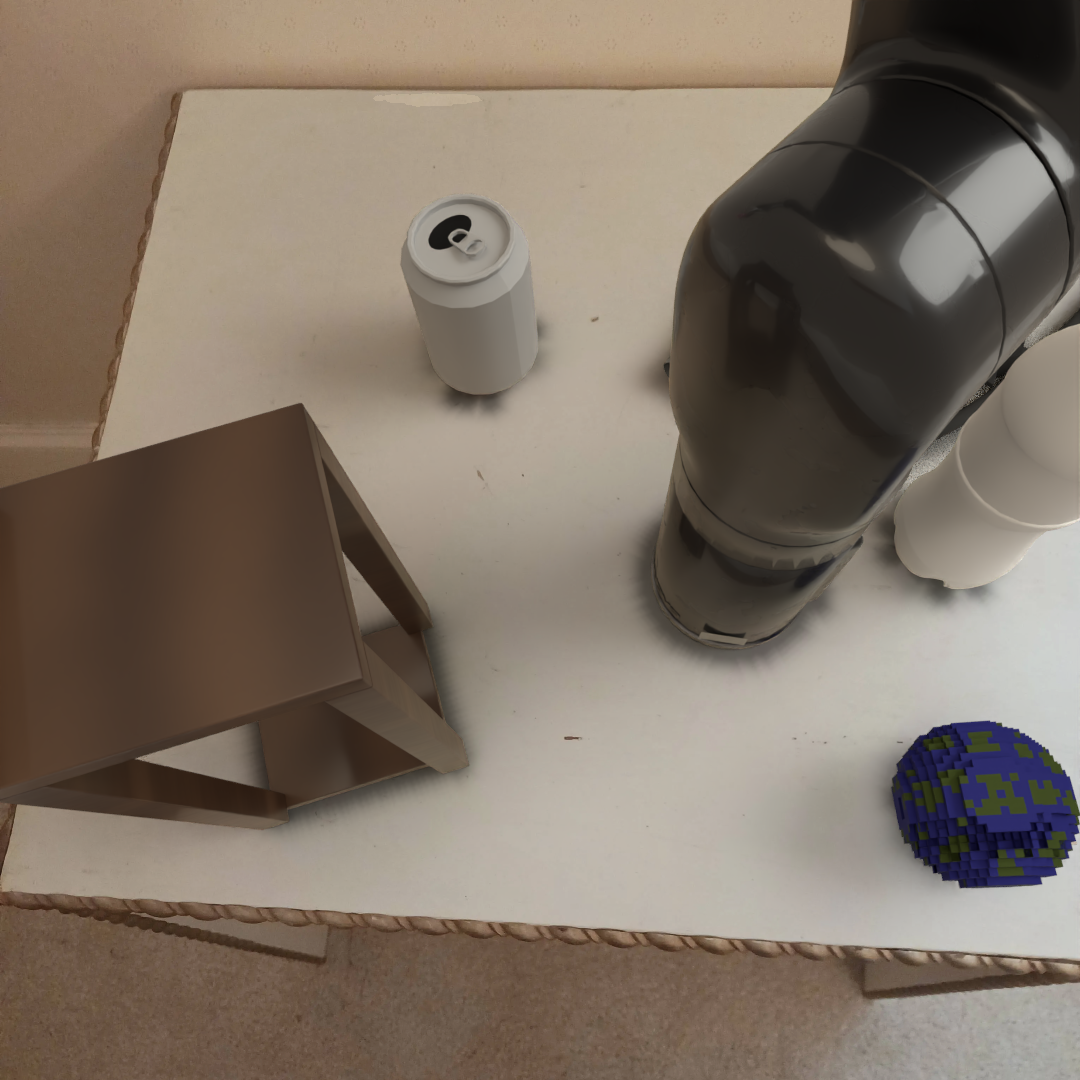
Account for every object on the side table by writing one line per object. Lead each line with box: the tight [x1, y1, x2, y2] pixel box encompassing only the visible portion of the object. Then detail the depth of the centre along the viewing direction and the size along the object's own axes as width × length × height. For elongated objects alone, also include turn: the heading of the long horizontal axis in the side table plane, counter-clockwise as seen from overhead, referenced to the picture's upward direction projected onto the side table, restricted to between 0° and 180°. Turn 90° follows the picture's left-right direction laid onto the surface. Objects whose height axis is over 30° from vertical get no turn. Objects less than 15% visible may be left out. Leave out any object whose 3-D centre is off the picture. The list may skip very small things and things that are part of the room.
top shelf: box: [0, 402, 470, 831], centre depth 38 cm, size 12×10×27 cm
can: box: [399, 192, 539, 395], centre depth 53 cm, size 8×8×12 cm
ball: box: [890, 720, 1080, 889], centre depth 43 cm, size 8×8×8 cm
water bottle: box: [893, 324, 1080, 590], centre depth 40 cm, size 7×7×25 cm
